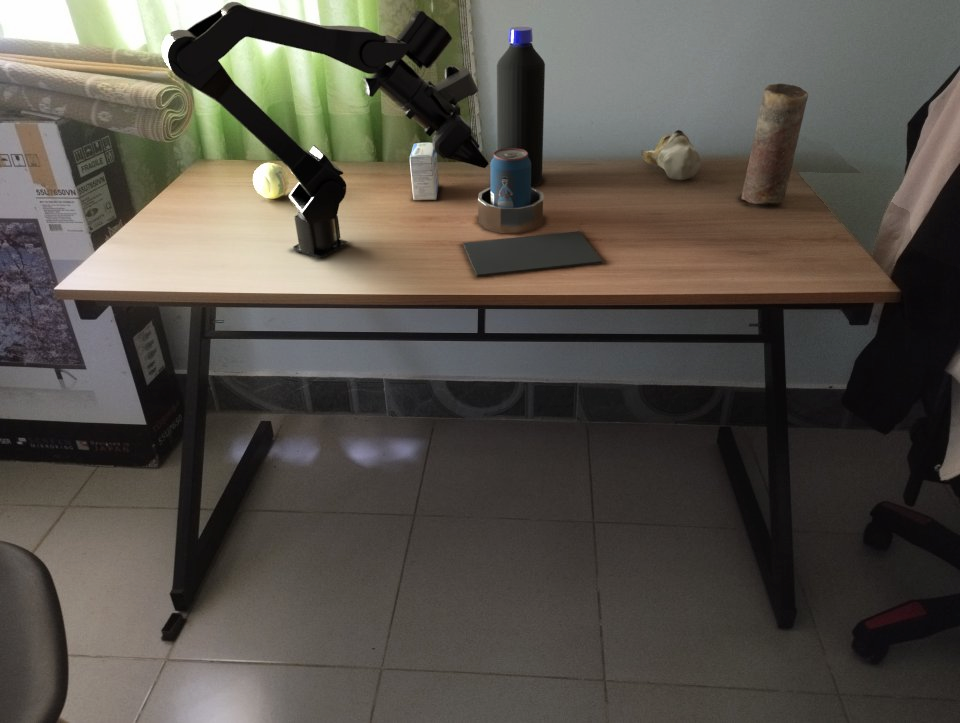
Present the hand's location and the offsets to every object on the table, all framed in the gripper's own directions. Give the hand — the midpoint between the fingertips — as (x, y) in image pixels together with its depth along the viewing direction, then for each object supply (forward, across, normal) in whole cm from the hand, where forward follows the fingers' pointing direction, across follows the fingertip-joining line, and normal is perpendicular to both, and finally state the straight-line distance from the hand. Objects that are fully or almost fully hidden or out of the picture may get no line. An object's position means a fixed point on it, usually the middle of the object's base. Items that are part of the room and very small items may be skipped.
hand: (482, 156), depth 124 cm
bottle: (+16, +19, +1) cm, 25 cm away
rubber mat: (+12, -14, +5) cm, 19 cm away
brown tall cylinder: (+45, -1, -28) cm, 53 cm away
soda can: (+12, 0, +5) cm, 13 cm away
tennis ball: (-18, +20, +35) cm, 44 cm away
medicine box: (+2, +16, +14) cm, 22 cm away
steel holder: (+12, 0, +5) cm, 13 cm away
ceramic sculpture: (+38, +17, -21) cm, 47 cm away
